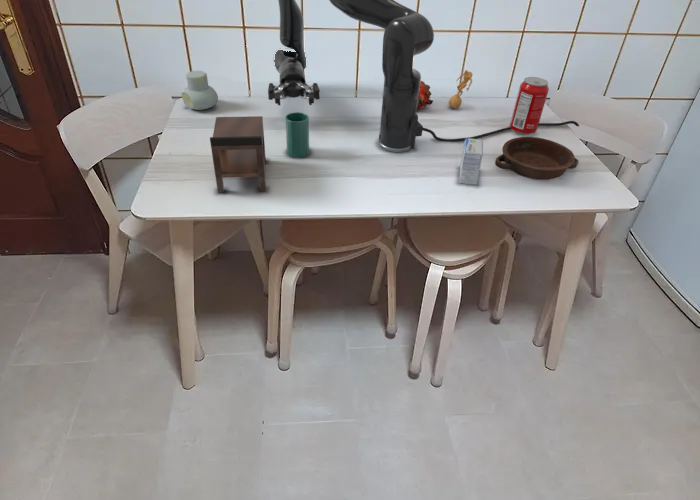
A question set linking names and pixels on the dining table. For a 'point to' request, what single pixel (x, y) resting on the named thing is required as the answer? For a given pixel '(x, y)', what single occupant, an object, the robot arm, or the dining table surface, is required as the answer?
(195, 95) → the air freshener
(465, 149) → the medicine box
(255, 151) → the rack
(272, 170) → the dining table surface
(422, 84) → the dragon fruit
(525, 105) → the soda can
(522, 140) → the dish
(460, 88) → the figurine
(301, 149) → the tumbler
